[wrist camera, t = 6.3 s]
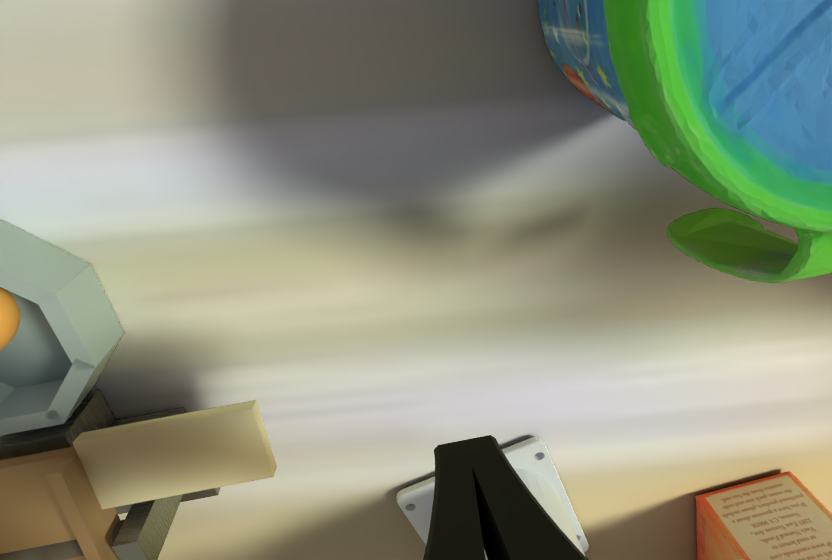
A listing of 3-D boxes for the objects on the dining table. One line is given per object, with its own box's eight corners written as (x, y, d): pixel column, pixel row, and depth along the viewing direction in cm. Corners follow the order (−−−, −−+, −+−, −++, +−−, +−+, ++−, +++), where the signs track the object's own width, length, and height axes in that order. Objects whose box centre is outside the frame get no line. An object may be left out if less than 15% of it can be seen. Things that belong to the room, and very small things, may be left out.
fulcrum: (220, 486, 24) (186, 593, 19) (31, 522, 24) (-49, 639, 19) (169, 376, 21) (114, 471, 16) (-48, 417, 21) (-165, 524, 16)
